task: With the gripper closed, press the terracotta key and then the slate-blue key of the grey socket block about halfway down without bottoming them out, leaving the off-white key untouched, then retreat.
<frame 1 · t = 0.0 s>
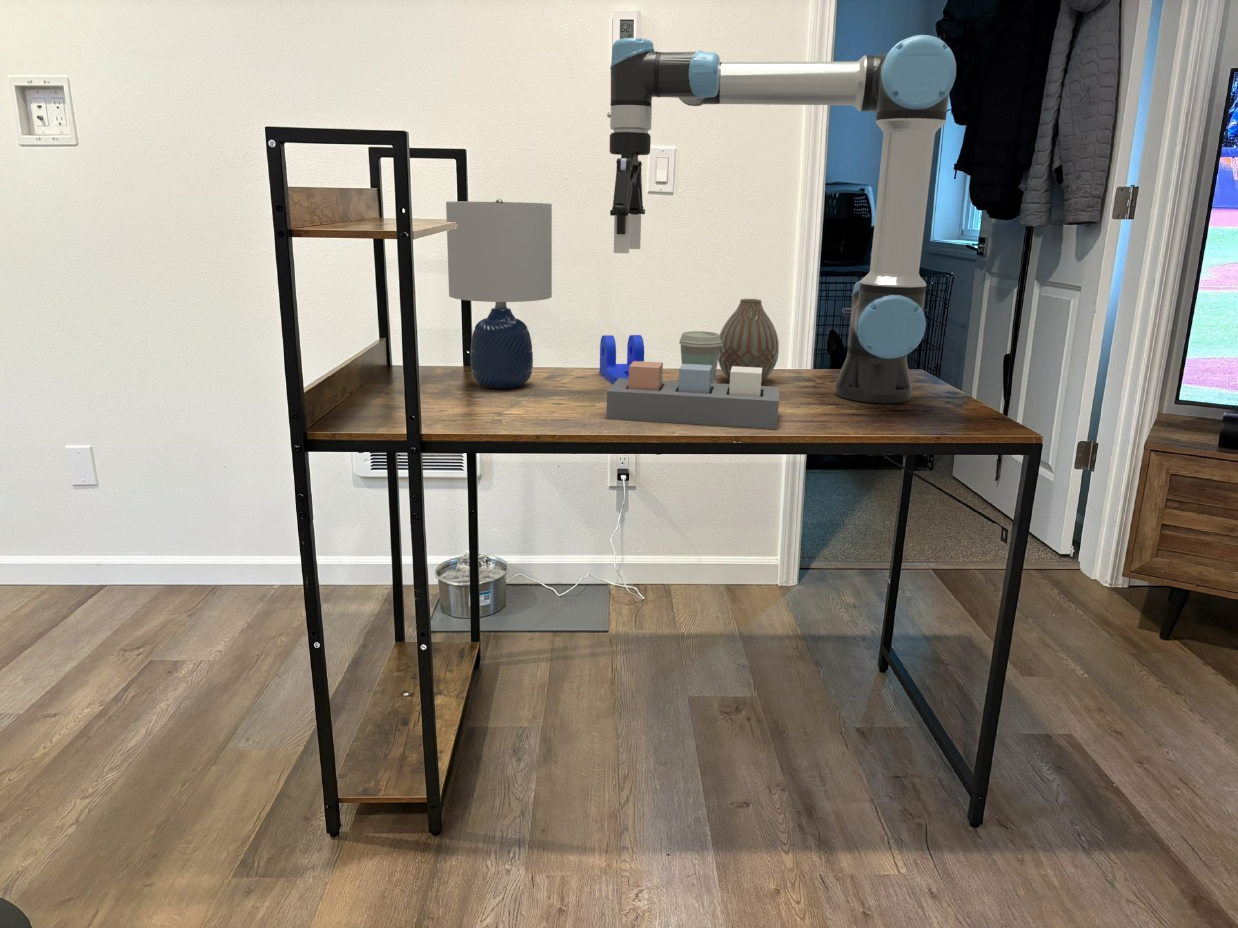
hand: (627, 251, 172), 28 cm above the table, fingers open, 13 cm apart
white key: (745, 382, 161), point 7 cm above the table, slide at 0.0 cm
vase: (745, 382, 197), on the table
coffee cup: (698, 394, 184), on the table
bracket: (627, 382, 195), on the table
slate key: (695, 379, 163), point 7 cm above the table, slide at 0.0 cm
grey socket block: (693, 416, 165), on the table
lamp: (502, 386, 187), on the table
terracotta key: (645, 376, 164), point 7 cm above the table, slide at 0.0 cm
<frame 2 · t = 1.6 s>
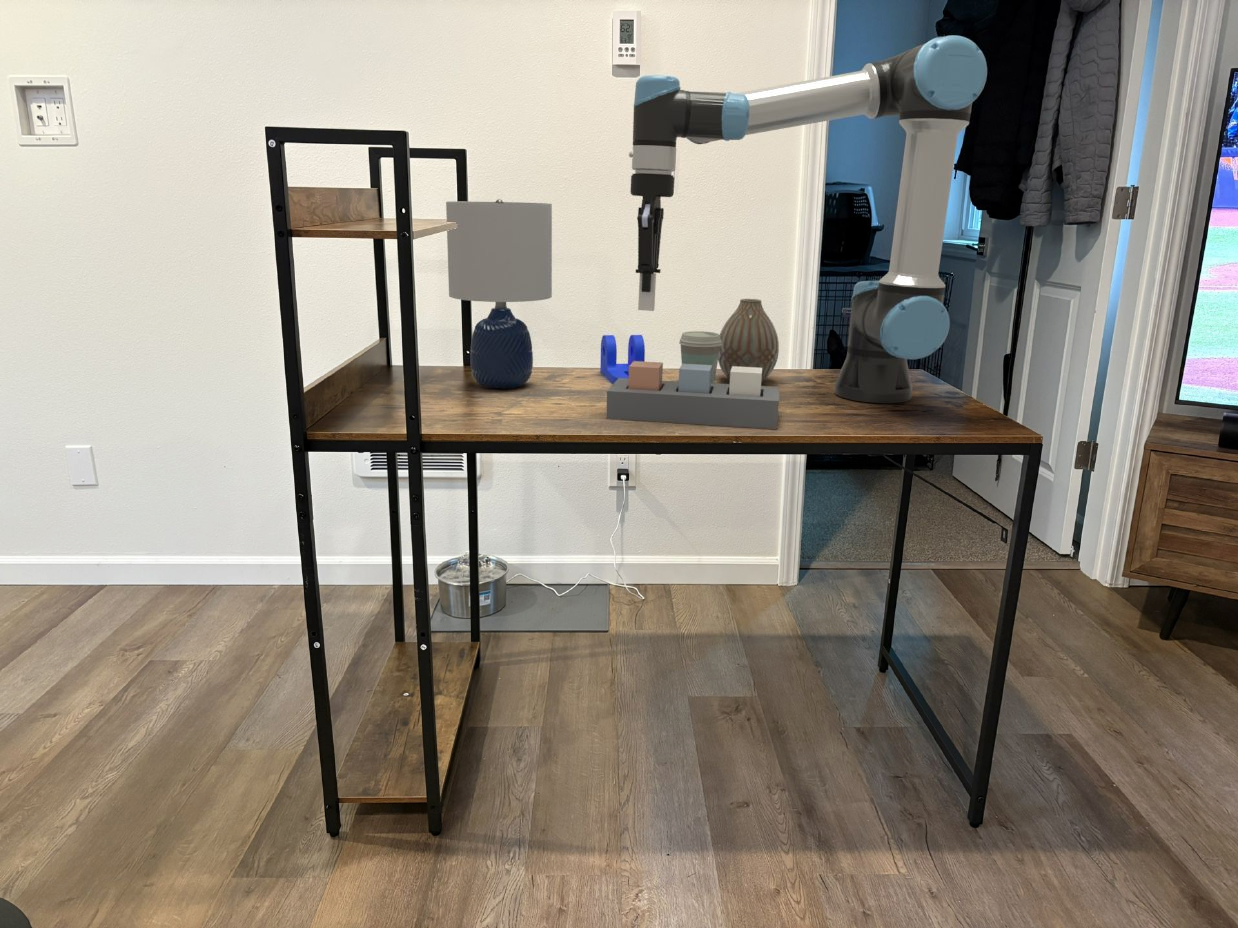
hand: (646, 310, 164), 18 cm above the table, fingers closed
nothing on the table moved.
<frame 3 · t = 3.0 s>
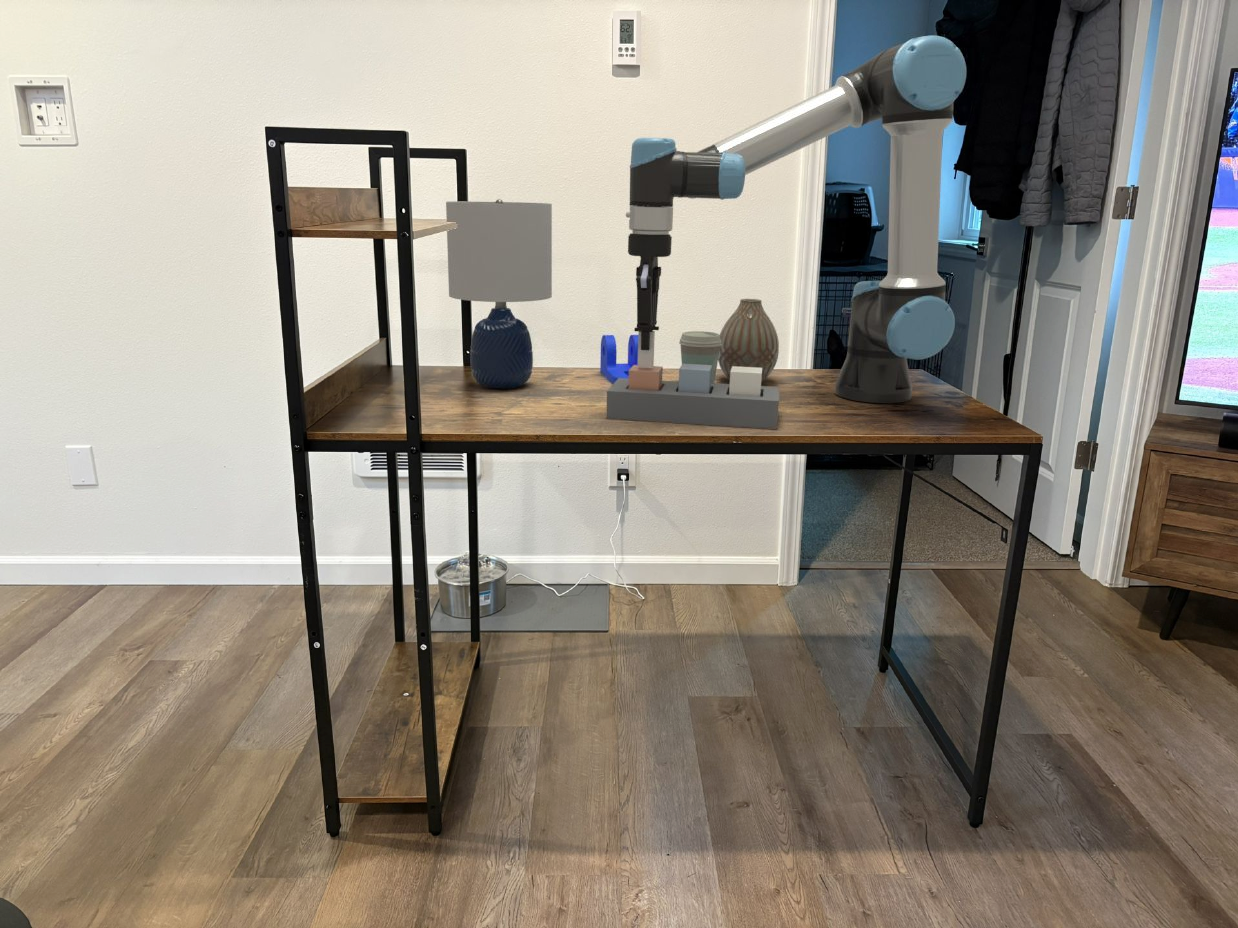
hand: (645, 367, 164), 9 cm above the table, fingers closed
terracotta key: (645, 380, 164), point 6 cm above the table, slide at 0.8 cm, touching gripper
everything else where it was.
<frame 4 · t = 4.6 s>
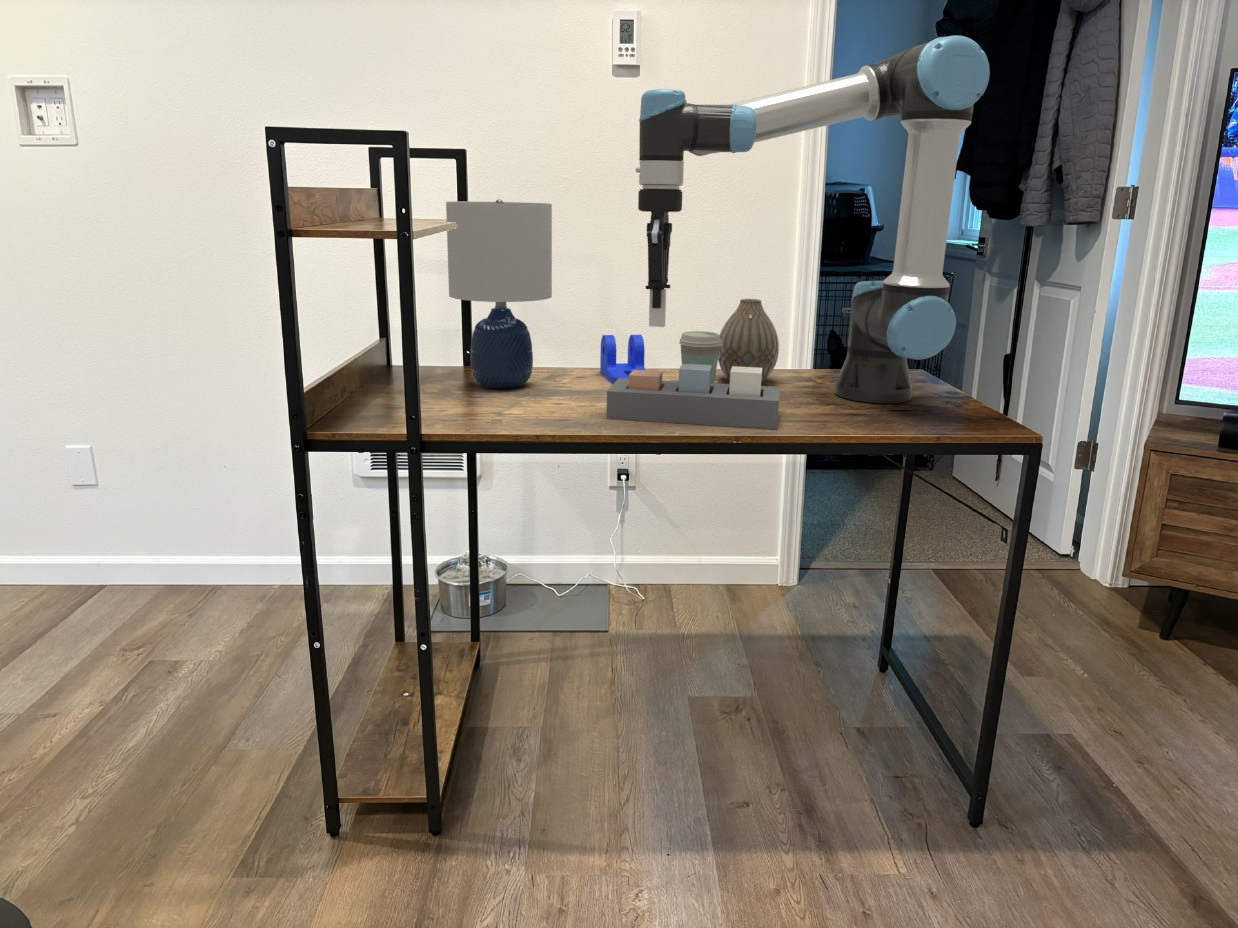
hand: (657, 326, 161), 16 cm above the table, fingers closed
terracotta key: (645, 385, 165), point 5 cm above the table, slide at 1.6 cm
everything else where it was.
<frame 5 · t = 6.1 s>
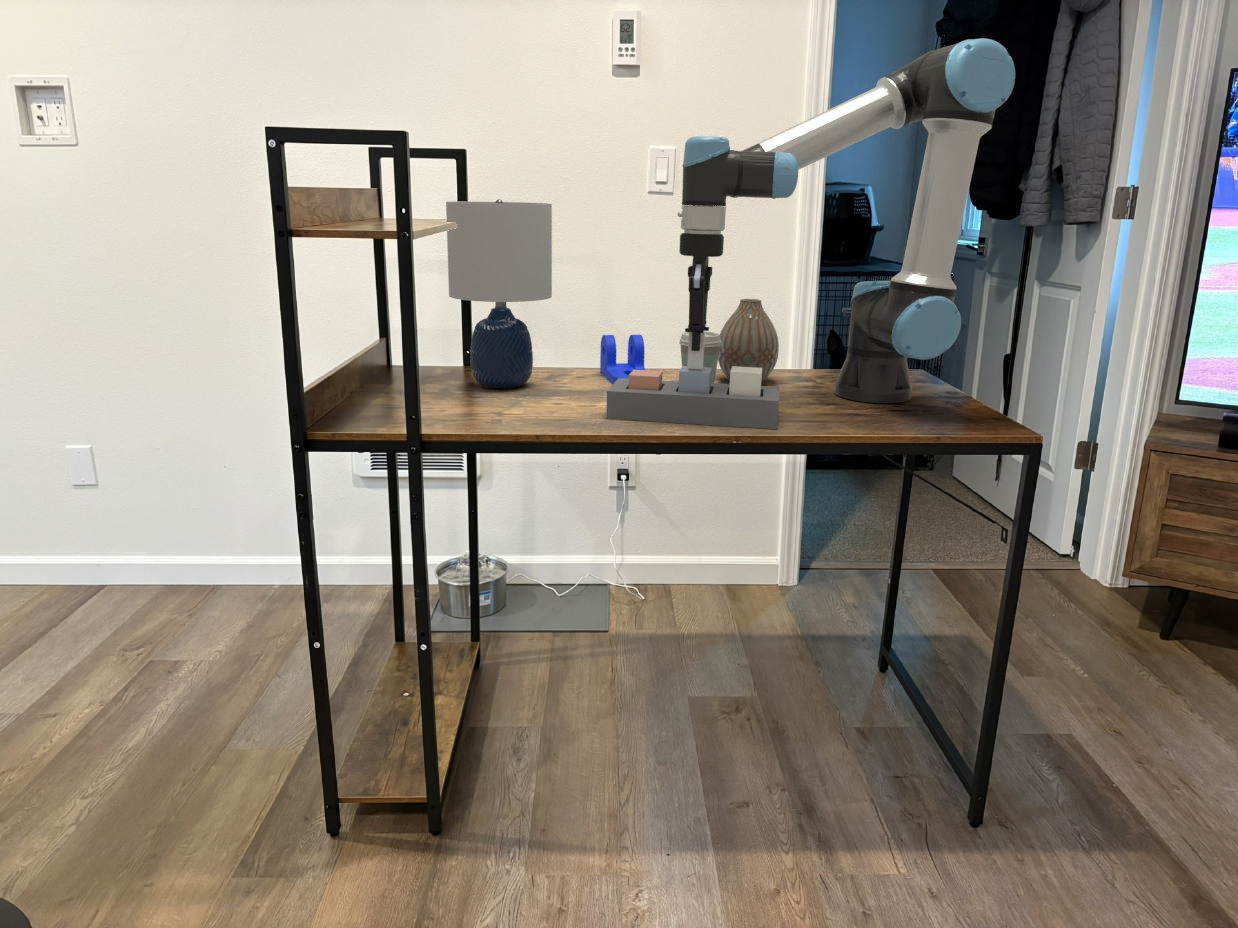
hand: (695, 368, 162), 9 cm above the table, fingers closed
slate key: (695, 381, 163), point 6 cm above the table, slide at 0.4 cm, touching gripper
everything else where it was.
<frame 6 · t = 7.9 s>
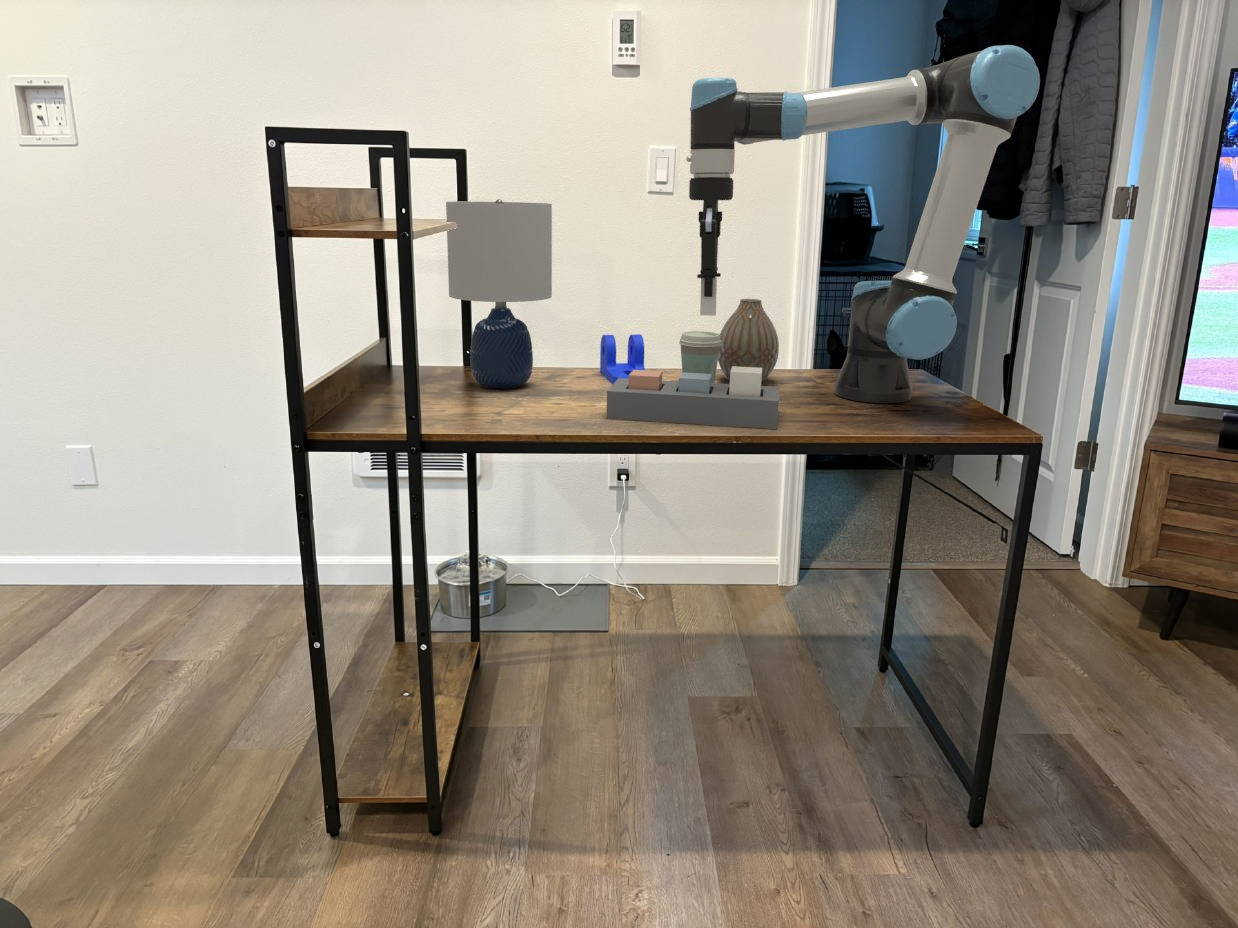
hand: (708, 314, 162), 18 cm above the table, fingers closed
slate key: (694, 388, 163), point 5 cm above the table, slide at 1.6 cm
everything else where it was.
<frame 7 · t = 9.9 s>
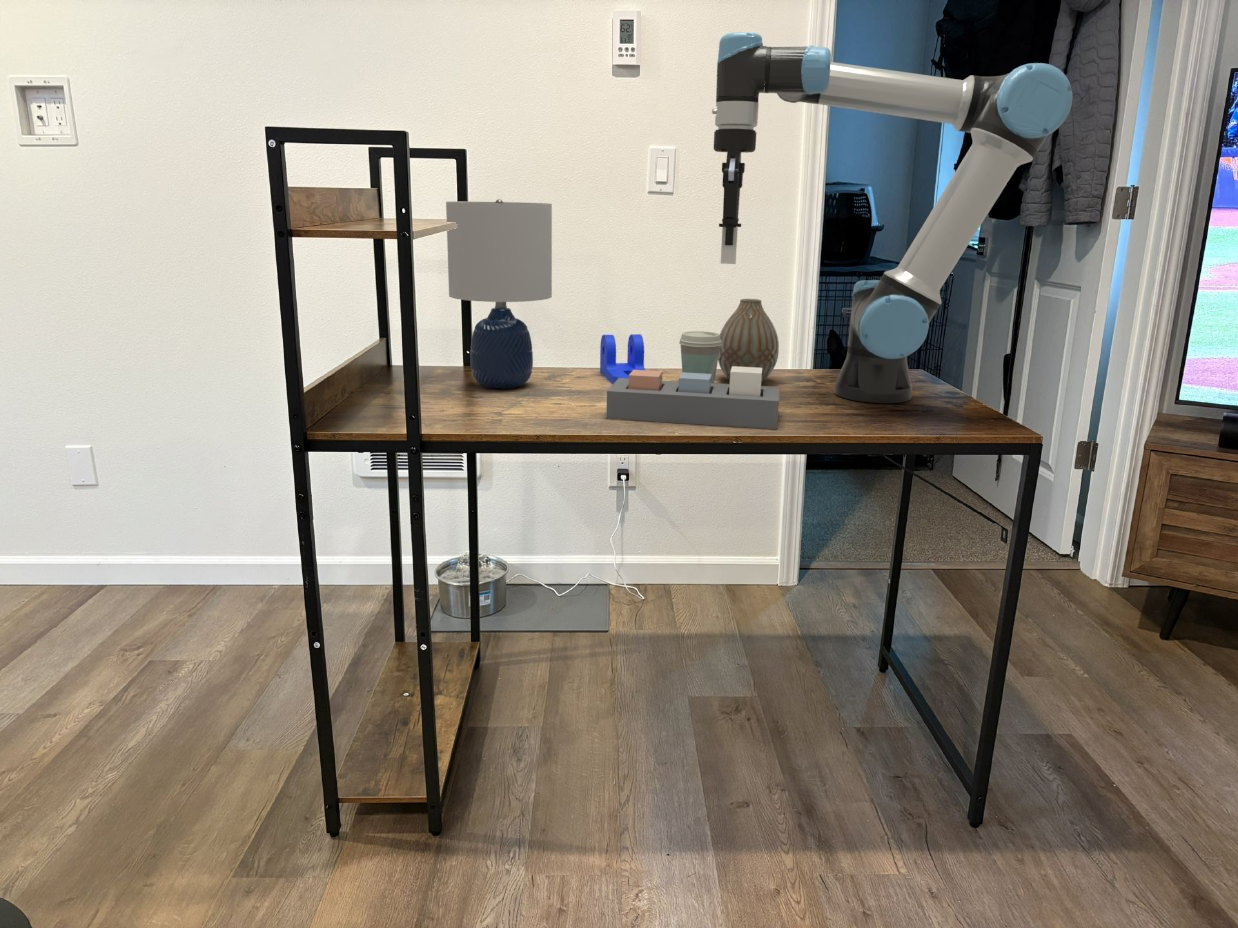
hand: (728, 263, 169), 26 cm above the table, fingers closed
nothing on the table moved.
at the end: terracotta key slide at 1.6 cm; slate key slide at 1.6 cm; white key slide at 0.0 cm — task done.
